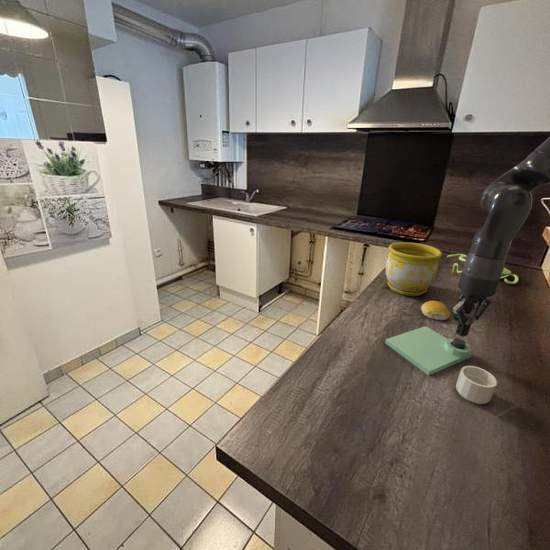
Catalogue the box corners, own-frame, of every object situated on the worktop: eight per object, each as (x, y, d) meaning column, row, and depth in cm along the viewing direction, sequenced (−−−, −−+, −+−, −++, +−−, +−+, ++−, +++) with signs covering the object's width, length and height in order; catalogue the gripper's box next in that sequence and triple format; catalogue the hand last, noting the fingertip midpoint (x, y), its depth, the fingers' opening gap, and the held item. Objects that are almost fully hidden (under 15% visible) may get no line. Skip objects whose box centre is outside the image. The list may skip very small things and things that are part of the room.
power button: (456, 342, 78) (457, 337, 77) (466, 347, 75) (468, 343, 75) (449, 344, 77) (450, 339, 76) (459, 350, 74) (461, 345, 74)
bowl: (467, 379, 69) (473, 362, 67) (496, 399, 63) (503, 381, 61) (448, 388, 66) (454, 370, 64) (477, 409, 61) (484, 391, 59)
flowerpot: (377, 278, 123) (383, 241, 116) (421, 280, 121) (430, 243, 115) (388, 298, 106) (396, 255, 100) (439, 301, 105) (451, 258, 98)
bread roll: (445, 309, 99) (448, 299, 97) (450, 323, 91) (453, 312, 90) (419, 305, 102) (421, 295, 100) (421, 318, 94) (424, 307, 92)
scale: (425, 329, 88) (427, 321, 87) (472, 357, 76) (476, 348, 75) (385, 343, 81) (386, 334, 80) (429, 376, 69) (432, 366, 68)
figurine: (445, 261, 144) (448, 250, 142) (512, 272, 131) (516, 260, 129) (444, 273, 129) (447, 261, 127) (519, 287, 117) (523, 274, 115)
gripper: (480, 283, 62) (458, 349, 69) (515, 273, 67) (491, 336, 74) (447, 271, 68) (430, 333, 75) (482, 263, 74) (463, 321, 80)
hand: (461, 334), depth 75 cm, fingers closed
